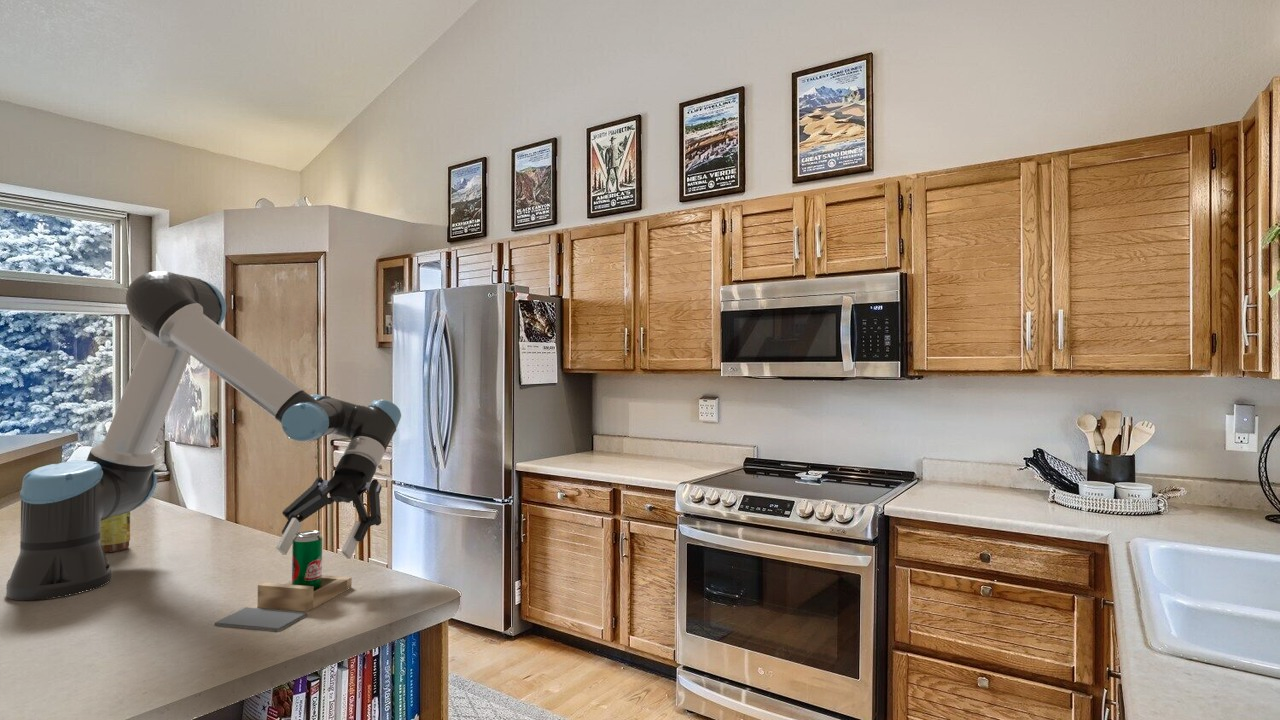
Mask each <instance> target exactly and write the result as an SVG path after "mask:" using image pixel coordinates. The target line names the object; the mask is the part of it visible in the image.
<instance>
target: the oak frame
mask: <svg viewBox="0 0 1280 720" xmlns="http://www.w3.org/2000/svg"><path fill="white" fill-rule="evenodd" d="M352 579H353V578H352V577H351V576H340V575H325V574H322V587H321V588H319V589H317V590H315V591H313V589H314V586H302V585H292V580H289V581H287V582H285V583H274V582H262V583H260V584H258V585H257V602H256V603H257V607H256V608H260V609H272V610H283V611H295V612H306V613H308V612H309V611H311V610H314V609H315V608H317V607H319V606H321V605H323V604H324V603H326V602H328V601H330V600H331V598H332V599H333V598H335V597H337V596H339V595H340V593H341V594H342V593H344V592H346V591H348V590H349V589H348V588H350V589H352V585H353V584H352V581H353V580H352ZM347 589H348V590H347ZM345 590H346V591H345ZM343 591H344V592H343ZM338 594H339V595H338ZM322 603H323V604H322Z"/></svg>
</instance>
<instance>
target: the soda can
mask: <svg viewBox="0 0 1280 720" xmlns="http://www.w3.org/2000/svg"><path fill="white" fill-rule="evenodd" d="M323 541H324V539H323V536H322V535H321V531H320V530H304V531H299V532H298V533H296V534H295V538H294V539H293V541H292V545H291V547H292V548H291V550H292V551H291V554H292V555H291V581H292V585H302V586H314V589H313V591H315V590H317V589H319V588H321V587H322V575H323Z"/></svg>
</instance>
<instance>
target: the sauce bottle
mask: <svg viewBox="0 0 1280 720" xmlns="http://www.w3.org/2000/svg"><path fill="white" fill-rule="evenodd" d="M130 540H131V511H130V512H128V513H125V514H121V515H116V516H113V517H111V518H108V519H105V520H102V521H101V528H100V542H101V546H102V548H103V550H104V553H105V554H107V553H109V552H110V553H115V552H120V551H124V550H126V549H128V548H129V547H130Z"/></svg>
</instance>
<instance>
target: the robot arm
mask: <svg viewBox="0 0 1280 720" xmlns="http://www.w3.org/2000/svg"><path fill="white" fill-rule="evenodd" d="M125 304H126V308H127V310H128V312H129V314H130V315H131V317H132V318H133V319H134V320H135V321H136V322H138V323H139V325H141V327H140V329H141V331H142V332H143V334H144V335H145V340H144V342H143V345H142V347H141V349H140V352H139V355H138V356H137V359H136V362H135V363H134V367H133V369H132V371H131V375H130V377H129V379H128V381H127V383H126V386H125V388H124V390H123V394H122V396H121V399H120V401H119V403H118V406H117V408H116V410H115V413H114V416H113V418H112V421H111V422H110V425H109V427H108V430H107V433H106V435H105V437H104V440H103V441H102V442H101V443H99V444H97V445H95V446H92V447H91V448H90V451H89V453H88V455H87V458H86V459H85V460H74V461H64V462H63V461H62V462H59V463H51V464H47V465H44V466H40V467H36V468H34V469H33V470H31V471H29V472H27V473H26V474H25V475H23V478H22V482H21V483H22V485H21V489H20V492H19V498H20V537H19V538H20V541H19V542H20V546H19V555H18V557H17V559H16V561H15V564H14V567H13V569H12V571H11V574H10V576H9V577H10V578H9V579H8V580H7V582H6V588H5V589H6V592H5V595H6V597H7V598H9V599H10V600H14V599H16V600H15V601H36V600H35V599H41V600H48V599H47V598H50V599H54V598H53V597H57V598H59V597H58V596H63V597H66V596H65V595H69V594H73V595H76V594H75V593H78V594H80V593H79V592H82V591H86V590H89V591H91V590H90V589H92V590H94V589H93V588H95V589H97V588H96V587H98V588H99V586H100V587H102V586H101V585H103V584H105V583H106V584H108V583H109V582H110V581H111V580H110V579H112V578H111V577H112V568H111V566H110V564H109V562H108V559H107V556H106V553H104V550H103V548H102V546H101V542H100V528H101V521H102V520H105V519H108V518H111V517H113V516H116V515H121V514H125V513H128V512H130V513H131V512H132V511H134V510H136V509H137V508H139V507H141V506H142V505H144V504H145V503H146V502H148V500H150V498H152V496H153V494H154V493H155V490H156V489H157V484H158V476H157V475H158V474H156V473H155V465H156V462H157V458H156V457H155V456H154V454H153V453H152V452H153V449H154V446H155V444H156V441H157V439H158V436H159V434H160V431H161V429H162V426H163V424H164V421H165V419H166V416H167V414H168V412H169V410H170V406H171V404H172V401H173V399H174V397H175V395H176V392H177V389H178V386H180V381H181V379H182V376H183V374H184V371H185V370H186V366H187V365H188V362H189V360H190V357H191V356H192V358H194V359H195V360H197V361H198V362H199V363H201V364H202V365H204V366H205V367H206V368H207V369H209V370H210V371H212V372H213V373H214V374H215V375H217V377H219V378H220V379H222V380H223V381H225V382H226V383H227V384H229V385H230V386H231V387H233V388H234V389H235V390H237V391H238V392H239V393H241V395H244V396H245V397H246V398H248V399H249V400H250V401H251V402H253V403H254V404H256V405H257V406H258V407H259V408H260V409H262V410H263V411H265V412H266V413H267V414H268V415H270V416H271V417H273V418H274V419H275V420H277V421H278V422H279V423H280V425H281V428H282V430H283V432H284V434H285V435H286V436H287V437H288V438H289V439H292V440H294V441H297V442H308V441H316V440H317V439H320V438H321V437H325V436H329V435H336V436H342V437H345V438H348V439H350V441H349V443H348V444H347V446H346V449H345V450H344V452H343V454H342V456H341V457H340V459H339V461H338V463H337V465H336V467H335V468H334V472H333V476H332V477H331V478H330V479H329V480H326V479H323V477H321V476H319V477H316V479H315V480H314V481H313V483H312V485H311V486H310V487H309V488H307V489H306V490H305V491H304V492H302V494H300V495H299V496H298V497H297V498H296V499H295V500H293V502H291V503H290V504H289V505H288V506H287V507H286V508H284V510H283V511H282V515H283V516H284V517H285V519H286V520H287V521H286V523H285V525H284V527H283V528H282V530H281V534H282V536H281V538H280V540H278V542H277V544H276V547H275V548H276V550H277V551H278V552H280V553H281V555H285V556H286V555H287V554H288V552H289V551H290V548H291V547H292V541H293V539H294V538H295V534H296V533H299V532H300V530H301V528H302V527H303V525H302V523H301V522H303V521H304V520H306V519H307V518H309V517H311V516H313V514H315V513H317V512H318V511H320V510H321V509H322V508H324V507H325V506H328V505H332V504H333V503H342V502H343V503H347V504H349V503H351V502H353V505H354V507H355V510H356V512H357V514H358V517H359V518H358V519H359V520H355V521H354V523H353V525H352V528H351V530H350V532H349V534H348V537H347V539H346V541H345V542H344V545H343V547H342V549H341V553H342V554H343V556H344V557H345V558H346V559H349V560H350V559H352V557H353V555H354V553H355V551H356V548H357V546H358V544H359V543H360V542H362V541H363V540H364V539H365V537H366V535H367V533H368V530H369V528H371V526H380V525H381V523H382V515H381V502H380V493H381V491H382V485H381V484H380V482H379V481H378V479H376V478H375V479H373V478H374V476H375V474H376V471H377V469H378V468H379V466H380V464H381V462H382V459H383V457H384V455H385V453H386V451H387V449H388V446H389V444H390V443H391V441H392V439H393V437H394V435H395V433H396V432H397V428H398V425H399V424H400V421H401V418H402V412H401V409H400V408H399V407H398V406H397V405H396V404H395V403H393V402H391V401H389V400H386V399H384V398H383V399H374V400H373V401H372V402H370V404H369V405H368V406H365V405H360V404H355V403H352V402H347V401H345V400H341V399H337V398H334V397H331V396H329V395H322V394H321V395H320V394H318V393H317V394H316V393H315V394H310V393H307V392H306V391H305V390H304V389H303V388H301V387H300V386H299V385H297V384H296V383H295V382H293V381H292V380H291V379H290V378H289V377H287V376H285V374H283V373H281V371H279V370H278V369H277V368H275V367H274V366H272V365H271V364H270V363H268V362H267V361H266V360H265V359H263V358H262V357H261V356H259V355H258V354H256V353H255V352H254V351H253V350H251V349H250V348H249V347H248V346H246V345H245V344H244V343H242V342H241V341H239V340H238V339H237V338H236V337H234V336H233V335H232V334H230V333H229V332H228V331H227V330H225V329H224V328H223V327H221V326H220V325H221V324H222V323H223V322H224V320H225V317H226V314H227V302H226V300H225V297H224V296H223V294H222V292H221V291H220V290H219V289H218V288H217V287H216V286H215V285H213V284H212V283H210V282H208V281H205V280H203V279H201V278H197V277H194V276H189V275H188V276H187V275H183V274H179V273H174V272H171V271H164V270H160V271H159V270H154V271H150V272H146V273H144V274H141V275H140V276H138V277H136V278H135V279H133V281H131V283H130V284H129V286H128V288H127V290H126V293H125ZM367 491H368V499H369V502H368V503H369V512H370V513H369V514H368V512H367V510H366V507H365V505H364V502H363V498H362V497H361V495H363V494H364V493H365V492H367ZM328 495H329V496H330V497H328ZM369 515H370V516H369ZM108 581H109V582H108ZM107 582H108V583H107ZM106 584H105V585H106ZM103 586H104V585H103ZM86 592H87V591H86ZM82 593H83V592H82ZM69 596H70V595H69Z"/></svg>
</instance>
